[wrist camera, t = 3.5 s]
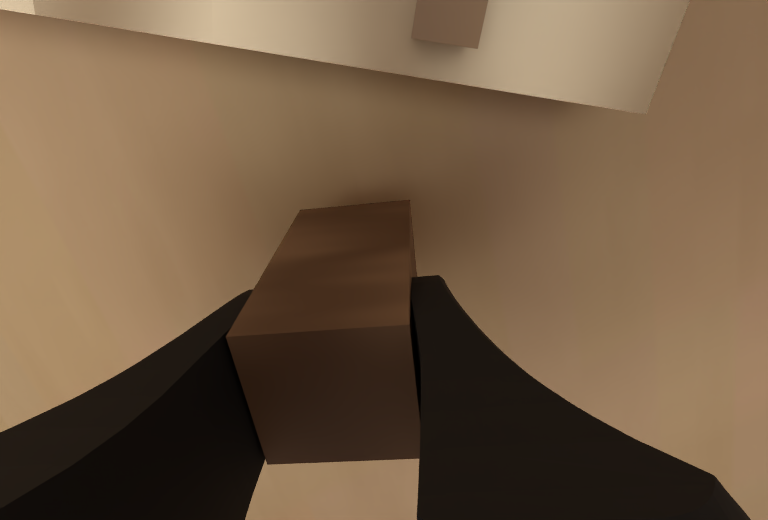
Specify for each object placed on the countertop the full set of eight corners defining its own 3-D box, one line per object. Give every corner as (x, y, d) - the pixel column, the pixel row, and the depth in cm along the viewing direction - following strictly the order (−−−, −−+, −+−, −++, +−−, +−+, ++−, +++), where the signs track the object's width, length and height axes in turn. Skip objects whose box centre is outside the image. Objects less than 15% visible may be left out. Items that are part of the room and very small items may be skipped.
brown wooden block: (409, 199, 12) (409, 324, 7) (418, 295, 14) (424, 458, 9) (300, 209, 13) (225, 336, 8) (319, 302, 14) (267, 464, 9)
